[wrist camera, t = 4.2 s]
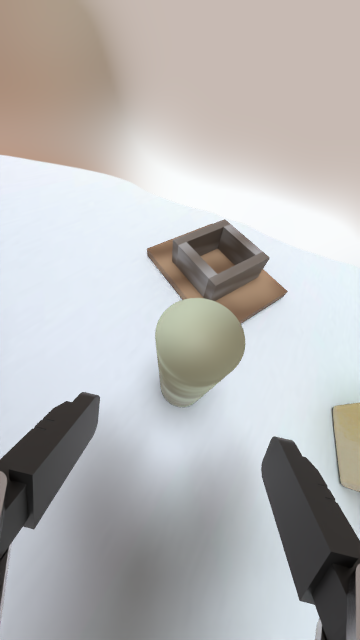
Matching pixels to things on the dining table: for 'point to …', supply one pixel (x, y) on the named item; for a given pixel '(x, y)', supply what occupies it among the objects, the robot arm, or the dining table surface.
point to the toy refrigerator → (348, 443)
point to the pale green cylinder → (196, 348)
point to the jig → (218, 269)
